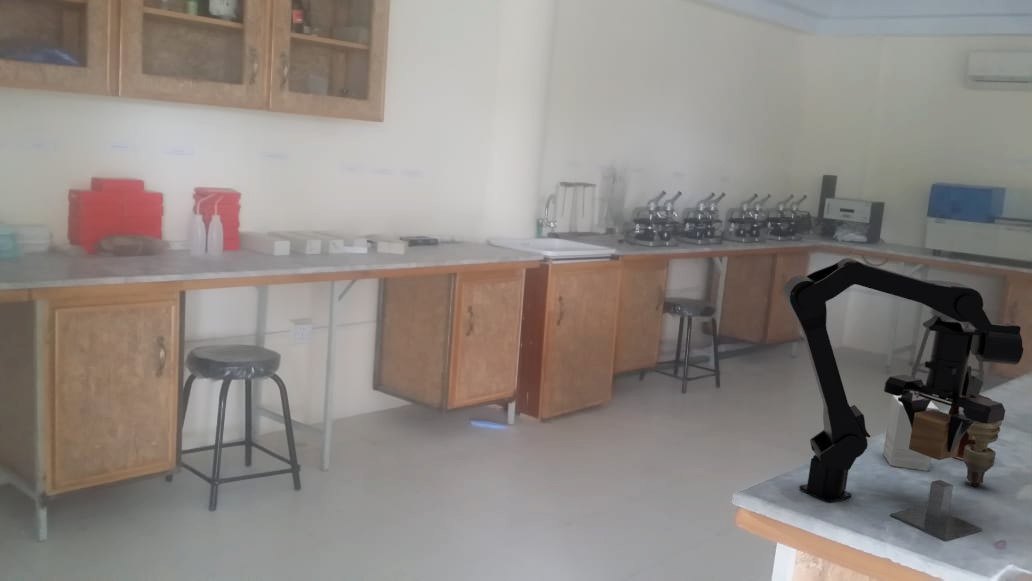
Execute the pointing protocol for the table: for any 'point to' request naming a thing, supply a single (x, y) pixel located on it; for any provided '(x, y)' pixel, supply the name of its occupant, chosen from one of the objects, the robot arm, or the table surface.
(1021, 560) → the table surface
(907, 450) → the supplement box
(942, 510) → the gray square base stand
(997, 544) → the table surface
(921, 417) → the cardboard carton
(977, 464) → the light bulb
